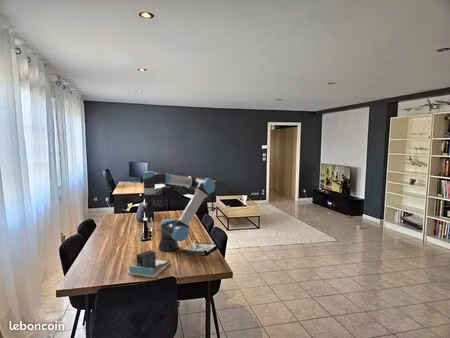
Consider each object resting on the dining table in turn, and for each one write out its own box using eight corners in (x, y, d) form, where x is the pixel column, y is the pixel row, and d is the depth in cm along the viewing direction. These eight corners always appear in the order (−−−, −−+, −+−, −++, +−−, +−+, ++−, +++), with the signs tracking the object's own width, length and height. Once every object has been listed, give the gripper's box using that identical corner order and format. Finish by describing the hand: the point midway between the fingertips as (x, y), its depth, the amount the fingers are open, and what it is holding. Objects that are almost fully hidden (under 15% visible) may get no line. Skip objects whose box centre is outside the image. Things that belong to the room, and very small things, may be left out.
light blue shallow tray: (145, 260, 199) (145, 253, 198) (170, 263, 194) (170, 255, 194) (127, 273, 177) (127, 265, 177) (154, 277, 173) (154, 269, 172)
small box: (150, 264, 188) (150, 249, 188) (156, 267, 184) (156, 252, 183) (136, 270, 180) (136, 254, 179) (142, 273, 176) (142, 256, 175)
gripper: (149, 191, 201) (149, 223, 203) (139, 194, 188) (139, 229, 190) (158, 192, 199) (158, 224, 201) (149, 195, 187) (149, 230, 189)
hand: (149, 226), depth 196 cm, fingers closed
